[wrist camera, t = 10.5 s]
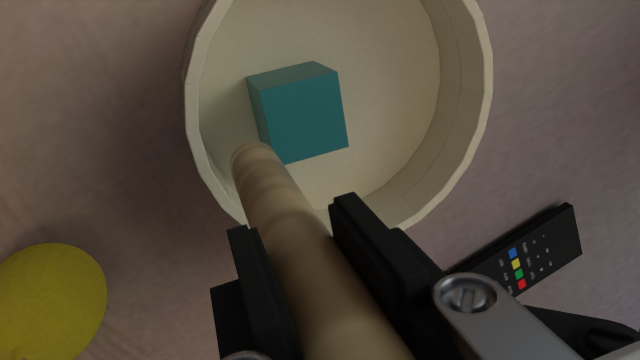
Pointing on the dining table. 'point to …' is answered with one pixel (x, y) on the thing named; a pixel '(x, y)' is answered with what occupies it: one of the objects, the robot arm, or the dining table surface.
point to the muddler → (311, 266)
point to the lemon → (49, 302)
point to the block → (299, 110)
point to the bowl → (347, 95)
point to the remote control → (531, 252)
